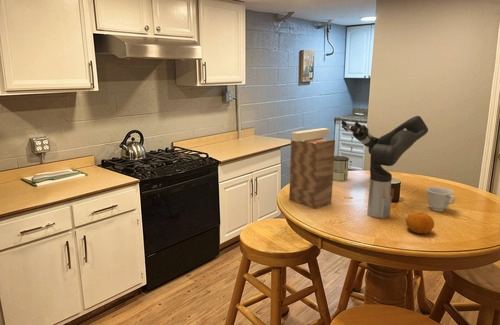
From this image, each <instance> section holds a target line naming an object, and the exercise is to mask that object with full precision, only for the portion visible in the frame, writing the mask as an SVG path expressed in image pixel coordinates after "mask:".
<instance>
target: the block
mask: <svg viewBox="0 0 500 325" xmlns="http://www.w3.org/2000/svg"><path fill="white" fill-rule="evenodd" d="M328 137H330V128H325V127H321V128H315V129H306V130H299V131H298V130H297V131H292V132H291V138H292V141H297V142H298V141H304V140H309V139H315V138H323V139H324V138H328Z"/></svg>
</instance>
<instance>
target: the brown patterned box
mask: <svg viewBox="0 0 500 325" xmlns="http://www.w3.org/2000/svg"><path fill="white" fill-rule="evenodd" d="M335 145H336V140H335V139H324V137H323V138H315V139H309V140H304V141H298V142H297V141H292V137H291V138H290V162H289V163H290V167H289V171H290V172H289V195H288V196H289V198H288V200H290V201H293V202H295V203H298V204H301V205H304V206H306V207H310V208H312V209H314V210H317V209H320V208H323V207H326V206H328V205H329V206H330V205H331V204H332V199H333V196H332V195H333V183H334V181H333V167H334V156H335V148H336V146H335Z"/></svg>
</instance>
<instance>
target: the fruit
mask: <svg viewBox="0 0 500 325" xmlns="http://www.w3.org/2000/svg"><path fill="white" fill-rule="evenodd" d="M405 224H406V226H407V228H408V229H409V230H410V231H411V232H414V233H416V234H419V235H420V234H428V233H430V232H431V231H432V230H433V229H434V228H435V221H434V219H433V217H432V216H431V215H429V214H428V213H425V212H410V213H409V214H408V215H407V216H406V219H405Z"/></svg>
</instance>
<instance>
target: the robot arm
mask: <svg viewBox="0 0 500 325" xmlns="http://www.w3.org/2000/svg"><path fill="white" fill-rule="evenodd" d="M340 124H341V128H342V129H343V130H345V131H346V132H349V131H350V132H351V133H352V135H353V137H354V138H355V139H356V140H357V141H358V142H359V143H361V144H363V146H365V147H366V148H368V153H369V154H370V158H369V159H370V160H369V161H370V162H369V163H370V165H369V166H370V167H369V175H370V179H369V189H368V200H367V212H366V213H367V215H368V216H370V217H372V218H376V219H382V220H383V219H386V218H388V217H390V216H391V209H392V208H391V206H392V199H393V197H392V195H391V190H392V189H391V188H392V179H393V176H392V174H391V172H389V171H388V170H386V169H384V168H383V166H386V167H392V166H394V165H395V164H396V163H397V162H398V160H399V159H400V158H401V157H402V155H403V154H404V153H405V152H406V151H408V150H409V149H410V148H411V147H412V146H413V145H414V144H415V143H416V142H417V141H418V140H419V139H421V138H423V137H424V136H426V135H427V133H428V132H429V128H428V126H427V124H426V123H425V121H424V119H423V118H422V117H421V116H420V115H415V116H413V117H411V118H409V119H407V120H405V121H404V122H403V123H401V124H400V125H398V126H396V127H395V128H394V129H392V130H391V131H389V132H388V133H386V134H384V135H382V136H380V137H375V136H373V135H372V134H371V133H370V131H369V128H368V127H367V126H366V125H365V124H364V125H362V124H360V123H359V122H358V121H355V123H354V124H351V123H347V122H346V121H345V120H341V122H340Z"/></svg>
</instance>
